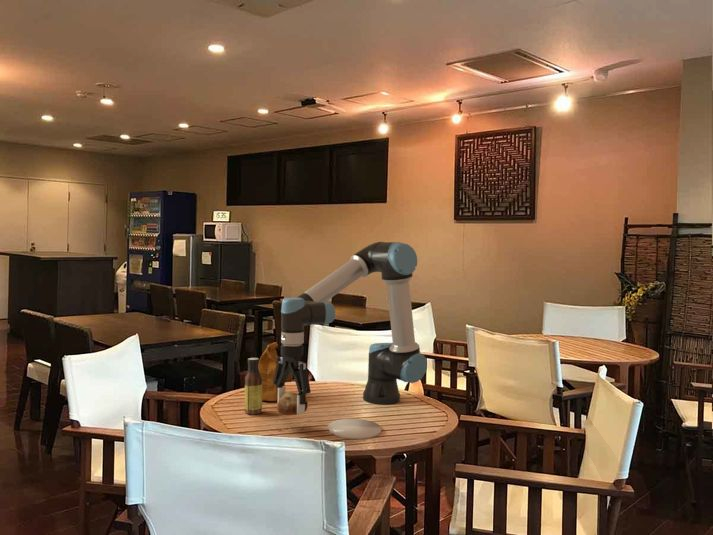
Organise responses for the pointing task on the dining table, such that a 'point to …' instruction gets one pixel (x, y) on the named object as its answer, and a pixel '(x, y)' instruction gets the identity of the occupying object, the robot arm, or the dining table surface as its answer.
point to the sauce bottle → (253, 388)
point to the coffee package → (268, 372)
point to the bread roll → (288, 404)
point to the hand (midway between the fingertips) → (290, 409)
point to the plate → (354, 428)
